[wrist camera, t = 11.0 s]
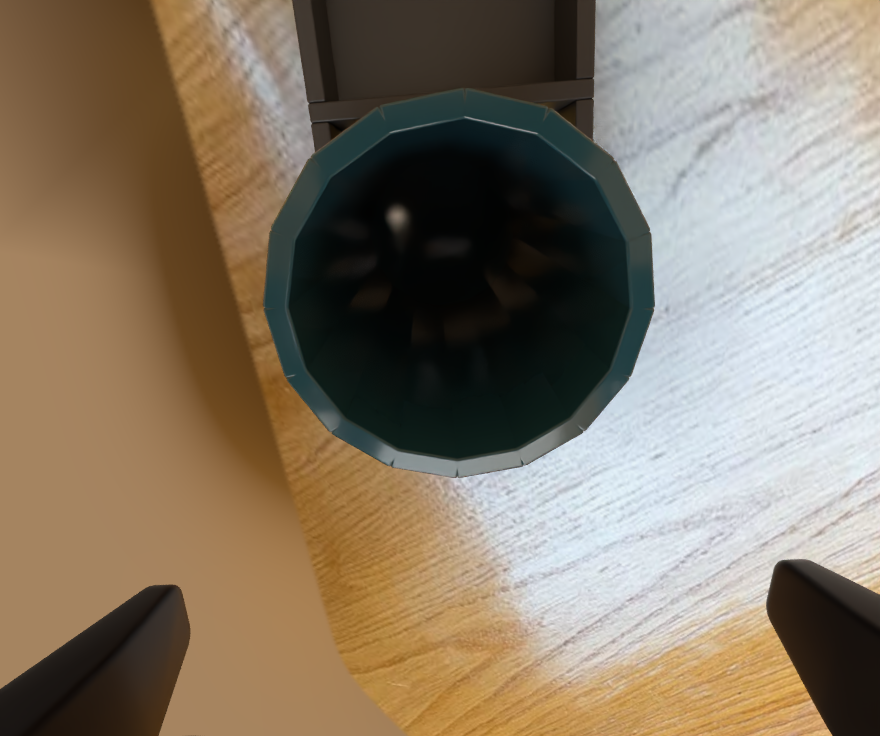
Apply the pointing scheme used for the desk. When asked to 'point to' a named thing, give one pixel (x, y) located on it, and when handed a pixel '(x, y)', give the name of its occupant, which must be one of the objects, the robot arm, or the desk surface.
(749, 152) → the desk surface
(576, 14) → the holder
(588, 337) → the cup
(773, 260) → the desk surface
